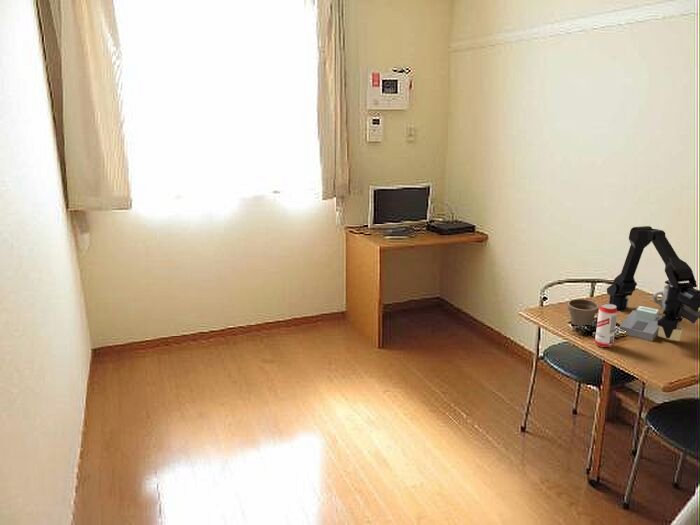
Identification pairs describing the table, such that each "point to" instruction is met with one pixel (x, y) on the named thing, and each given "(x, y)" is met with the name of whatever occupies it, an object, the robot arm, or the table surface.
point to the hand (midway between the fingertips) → (668, 336)
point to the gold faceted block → (674, 335)
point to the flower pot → (582, 311)
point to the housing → (640, 327)
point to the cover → (647, 313)
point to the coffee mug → (664, 296)
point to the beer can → (606, 325)
